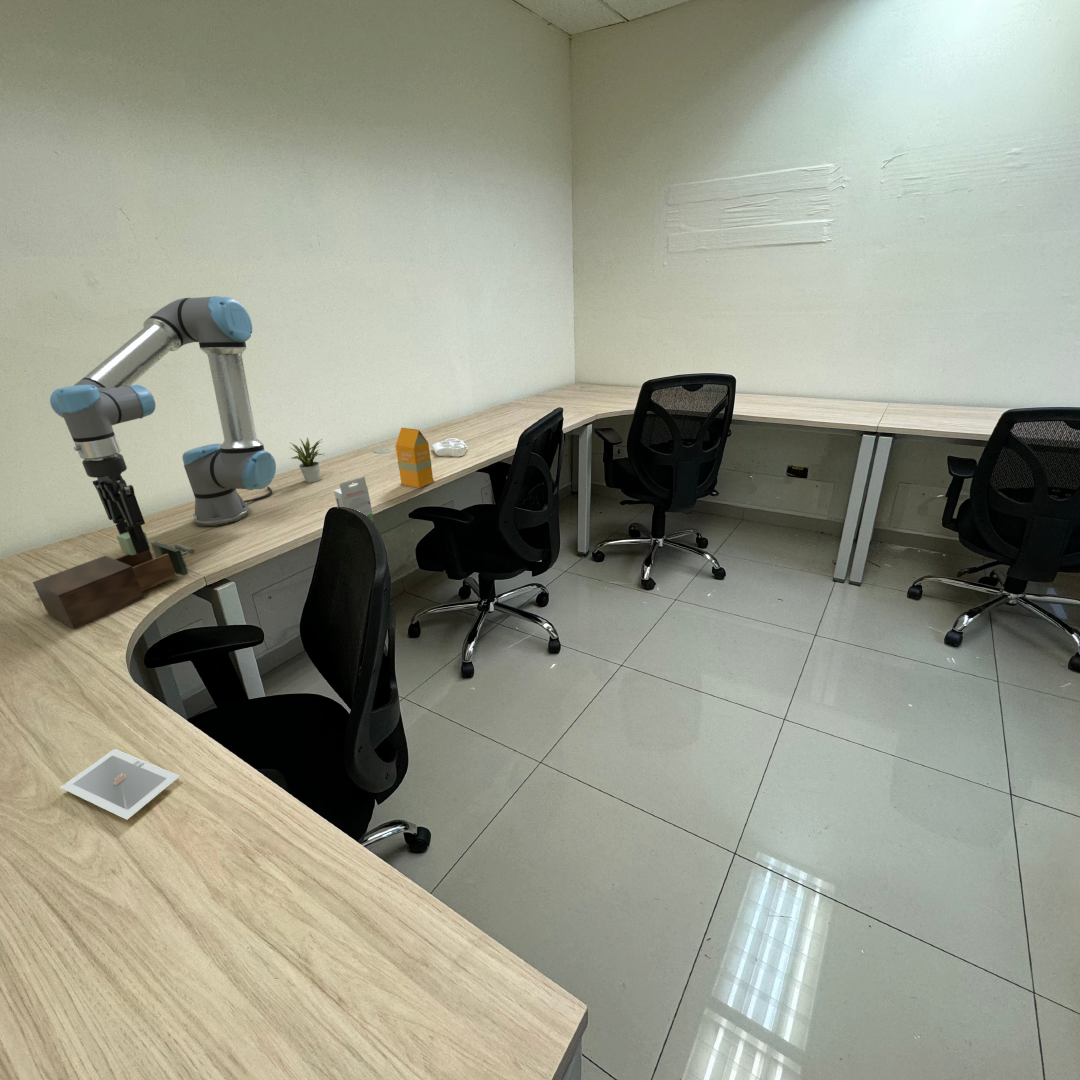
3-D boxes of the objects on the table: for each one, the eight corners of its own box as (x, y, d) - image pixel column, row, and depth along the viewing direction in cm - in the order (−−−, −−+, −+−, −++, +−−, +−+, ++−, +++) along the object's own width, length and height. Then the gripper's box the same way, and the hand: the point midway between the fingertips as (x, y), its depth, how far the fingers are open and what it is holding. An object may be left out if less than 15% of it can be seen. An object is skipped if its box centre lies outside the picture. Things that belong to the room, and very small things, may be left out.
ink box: (366, 517, 172) (358, 472, 166) (374, 521, 169) (366, 476, 163) (340, 526, 167) (330, 480, 161) (348, 530, 164) (338, 483, 157)
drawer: (180, 557, 149) (172, 535, 146) (204, 566, 144) (196, 543, 141) (107, 587, 135) (97, 563, 132) (131, 598, 130) (121, 573, 127)
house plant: (339, 481, 206) (330, 438, 199) (300, 489, 199) (290, 445, 192) (328, 472, 217) (320, 431, 210) (291, 480, 210) (281, 437, 203)
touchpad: (129, 825, 75) (124, 814, 74) (62, 792, 81) (56, 782, 80) (182, 781, 82) (178, 770, 81) (117, 753, 87) (112, 743, 86)
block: (141, 545, 137) (135, 529, 135) (151, 548, 135) (145, 532, 133) (122, 552, 134) (116, 535, 132) (132, 555, 132) (125, 539, 130)
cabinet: (117, 586, 138) (105, 555, 134) (144, 597, 132) (131, 566, 128) (48, 614, 127) (32, 582, 123) (74, 629, 121) (58, 595, 117)
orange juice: (419, 488, 196) (411, 432, 187) (401, 484, 200) (392, 430, 192) (433, 481, 202) (426, 427, 193) (416, 478, 206) (408, 424, 197)
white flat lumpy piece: (431, 448, 243) (464, 444, 247) (437, 459, 227) (472, 454, 231) (430, 440, 241) (463, 436, 245) (436, 451, 226) (471, 446, 230)
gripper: (64, 456, 126) (102, 548, 136) (102, 465, 118) (140, 562, 127) (101, 448, 131) (135, 536, 141) (139, 456, 123) (173, 549, 133)
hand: (137, 549), depth 134 cm, fingers closed on block, 4 cm apart
